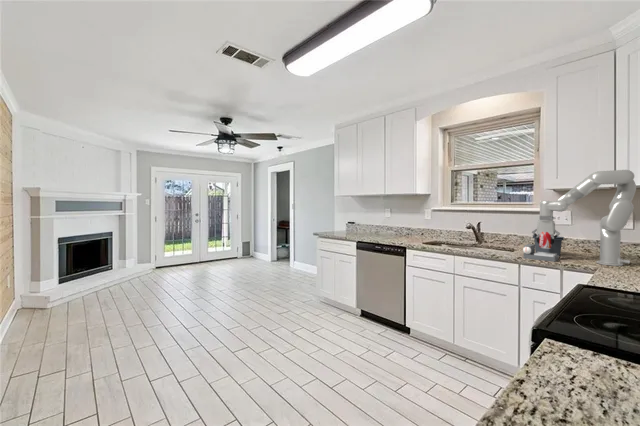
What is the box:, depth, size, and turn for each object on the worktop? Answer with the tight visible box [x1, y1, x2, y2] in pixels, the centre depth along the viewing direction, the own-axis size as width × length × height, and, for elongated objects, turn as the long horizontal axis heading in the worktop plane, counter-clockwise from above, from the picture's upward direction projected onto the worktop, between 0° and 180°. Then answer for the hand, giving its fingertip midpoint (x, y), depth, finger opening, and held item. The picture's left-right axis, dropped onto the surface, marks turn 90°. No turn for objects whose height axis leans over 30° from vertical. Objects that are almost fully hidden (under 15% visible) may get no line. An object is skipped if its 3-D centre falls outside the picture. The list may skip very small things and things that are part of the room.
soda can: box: [539, 231, 552, 249], centre depth 216 cm, size 7×7×12 cm
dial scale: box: [522, 243, 560, 263], centre depth 218 cm, size 18×13×9 cm
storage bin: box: [532, 234, 565, 257], centre depth 235 cm, size 21×16×14 cm
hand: (545, 243), depth 216 cm, fingers closed on soda can, 7 cm apart
